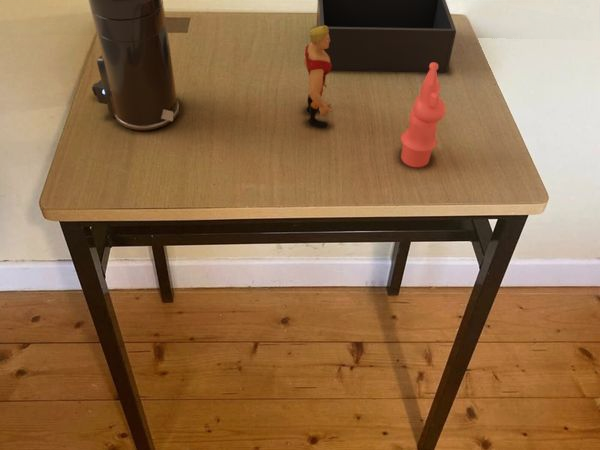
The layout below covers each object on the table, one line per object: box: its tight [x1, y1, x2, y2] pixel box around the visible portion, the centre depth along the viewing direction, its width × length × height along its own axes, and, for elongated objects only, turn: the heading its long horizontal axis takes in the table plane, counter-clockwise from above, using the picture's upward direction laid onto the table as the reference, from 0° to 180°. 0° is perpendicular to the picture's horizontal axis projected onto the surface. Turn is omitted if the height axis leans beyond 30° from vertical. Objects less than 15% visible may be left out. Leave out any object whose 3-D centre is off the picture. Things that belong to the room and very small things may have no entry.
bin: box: [316, 0, 457, 73], centre depth 104 cm, size 21×13×8 cm, turn 91°
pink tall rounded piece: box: [400, 62, 447, 168], centre depth 81 cm, size 5×5×15 cm
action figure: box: [303, 25, 333, 128], centre depth 88 cm, size 10×4×15 cm, turn 6°
